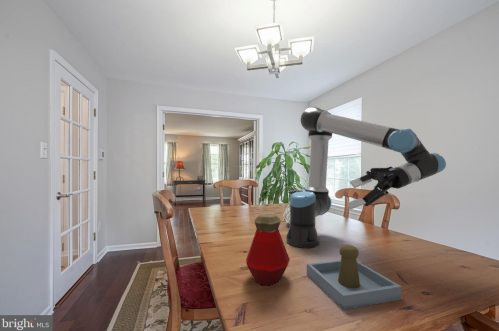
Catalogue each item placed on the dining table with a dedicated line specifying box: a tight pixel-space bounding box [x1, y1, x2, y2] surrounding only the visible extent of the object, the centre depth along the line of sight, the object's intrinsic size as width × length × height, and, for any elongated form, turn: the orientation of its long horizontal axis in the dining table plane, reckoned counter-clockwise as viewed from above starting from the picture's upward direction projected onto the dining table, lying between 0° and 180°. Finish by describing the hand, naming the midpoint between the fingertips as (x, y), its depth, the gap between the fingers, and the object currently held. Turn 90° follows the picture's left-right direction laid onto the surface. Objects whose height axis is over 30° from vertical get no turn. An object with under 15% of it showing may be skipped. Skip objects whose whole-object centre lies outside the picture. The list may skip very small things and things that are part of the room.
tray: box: [306, 259, 402, 311], centre depth 63 cm, size 18×18×4 cm
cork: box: [338, 244, 360, 289], centre depth 64 cm, size 6×6×11 cm
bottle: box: [245, 212, 291, 287], centre depth 68 cm, size 16×14×20 cm
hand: (350, 196), depth 78 cm, fingers open, 13 cm apart
